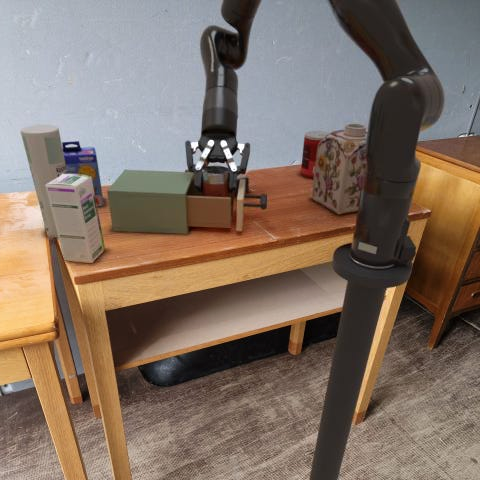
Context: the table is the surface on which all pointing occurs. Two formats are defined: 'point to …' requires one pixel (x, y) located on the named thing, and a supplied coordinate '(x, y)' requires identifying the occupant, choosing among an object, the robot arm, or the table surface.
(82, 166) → the ink cartridge box
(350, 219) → the table surface
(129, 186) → the cabinet
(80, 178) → the syrup box
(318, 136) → the canned food
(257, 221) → the table surface
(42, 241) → the table surface
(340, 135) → the decorative jar
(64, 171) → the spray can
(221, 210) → the drawer
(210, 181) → the tin
